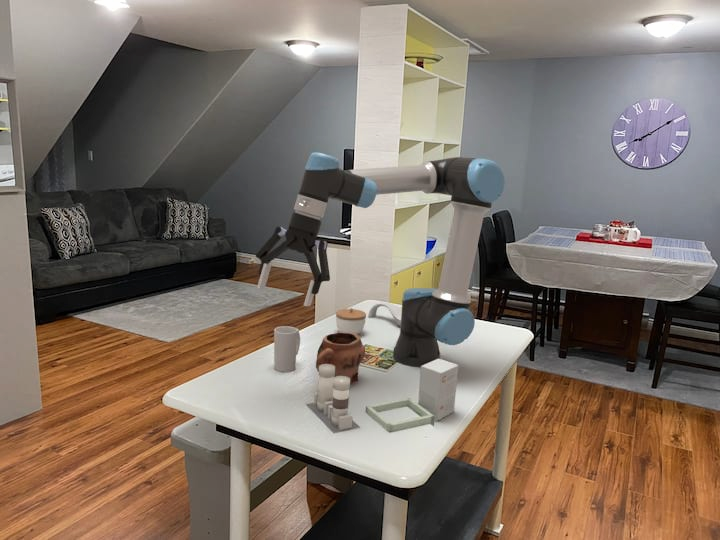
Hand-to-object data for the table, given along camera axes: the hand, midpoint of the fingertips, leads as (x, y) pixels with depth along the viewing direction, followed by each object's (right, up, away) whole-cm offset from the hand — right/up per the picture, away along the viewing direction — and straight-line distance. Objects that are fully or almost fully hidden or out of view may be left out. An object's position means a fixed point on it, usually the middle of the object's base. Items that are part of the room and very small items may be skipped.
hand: (283, 297), depth 142 cm
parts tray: (+29, -31, -2) cm, 42 cm away
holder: (+12, -30, -4) cm, 33 cm away
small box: (+39, -30, +4) cm, 49 cm away
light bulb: (+14, -29, -7) cm, 34 cm away
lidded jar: (+16, -16, +62) cm, 66 cm away
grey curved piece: (+33, -14, +77) cm, 85 cm away
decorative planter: (+13, -26, +18) cm, 34 cm away
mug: (-2, -22, +28) cm, 36 cm away
